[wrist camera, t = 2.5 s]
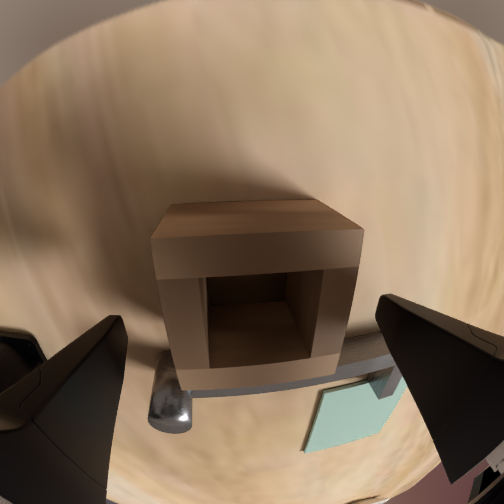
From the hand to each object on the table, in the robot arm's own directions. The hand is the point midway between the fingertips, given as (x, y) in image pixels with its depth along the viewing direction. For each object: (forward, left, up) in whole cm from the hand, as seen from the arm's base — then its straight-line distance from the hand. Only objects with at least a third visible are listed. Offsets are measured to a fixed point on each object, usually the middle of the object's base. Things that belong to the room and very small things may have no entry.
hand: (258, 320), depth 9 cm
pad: (+9, -14, -4) cm, 17 cm away
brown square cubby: (0, 0, -4) cm, 4 cm away
